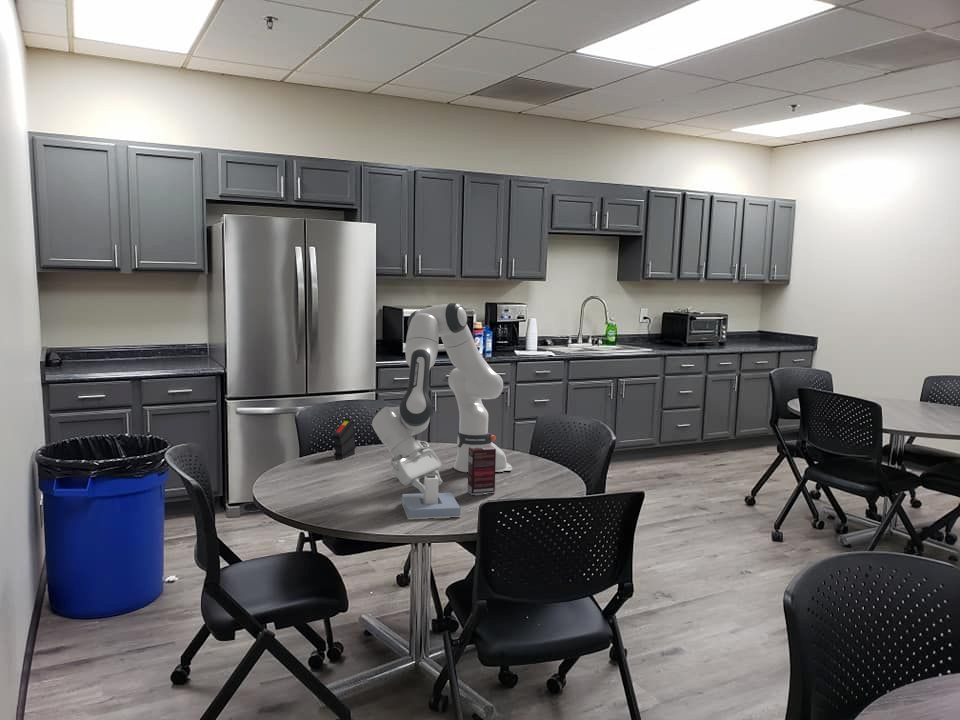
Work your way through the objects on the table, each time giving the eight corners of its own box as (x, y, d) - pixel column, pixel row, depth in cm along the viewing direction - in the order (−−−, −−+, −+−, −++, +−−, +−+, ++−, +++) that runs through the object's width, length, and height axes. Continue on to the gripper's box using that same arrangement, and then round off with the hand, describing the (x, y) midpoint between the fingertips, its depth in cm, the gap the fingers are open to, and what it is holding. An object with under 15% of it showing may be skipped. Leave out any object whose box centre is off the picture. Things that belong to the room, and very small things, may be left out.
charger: (435, 506, 228) (436, 473, 227) (437, 510, 224) (438, 476, 223) (423, 506, 227) (424, 473, 226) (425, 510, 223) (425, 476, 222)
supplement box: (489, 490, 249) (491, 445, 248) (495, 494, 245) (496, 448, 243) (466, 492, 246) (468, 446, 245) (471, 496, 242) (472, 450, 240)
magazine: (359, 448, 296) (352, 418, 289) (344, 468, 286) (337, 438, 278) (351, 447, 298) (344, 417, 290) (336, 467, 287) (328, 437, 279)
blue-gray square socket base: (450, 501, 235) (450, 492, 235) (460, 517, 220) (460, 507, 219) (401, 503, 232) (402, 494, 231) (408, 519, 216) (408, 509, 216)
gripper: (394, 453, 217) (421, 489, 214) (429, 440, 236) (454, 474, 232) (382, 465, 220) (408, 501, 217) (417, 452, 238) (442, 485, 235)
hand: (432, 487), depth 225 cm, fingers open, 8 cm apart
